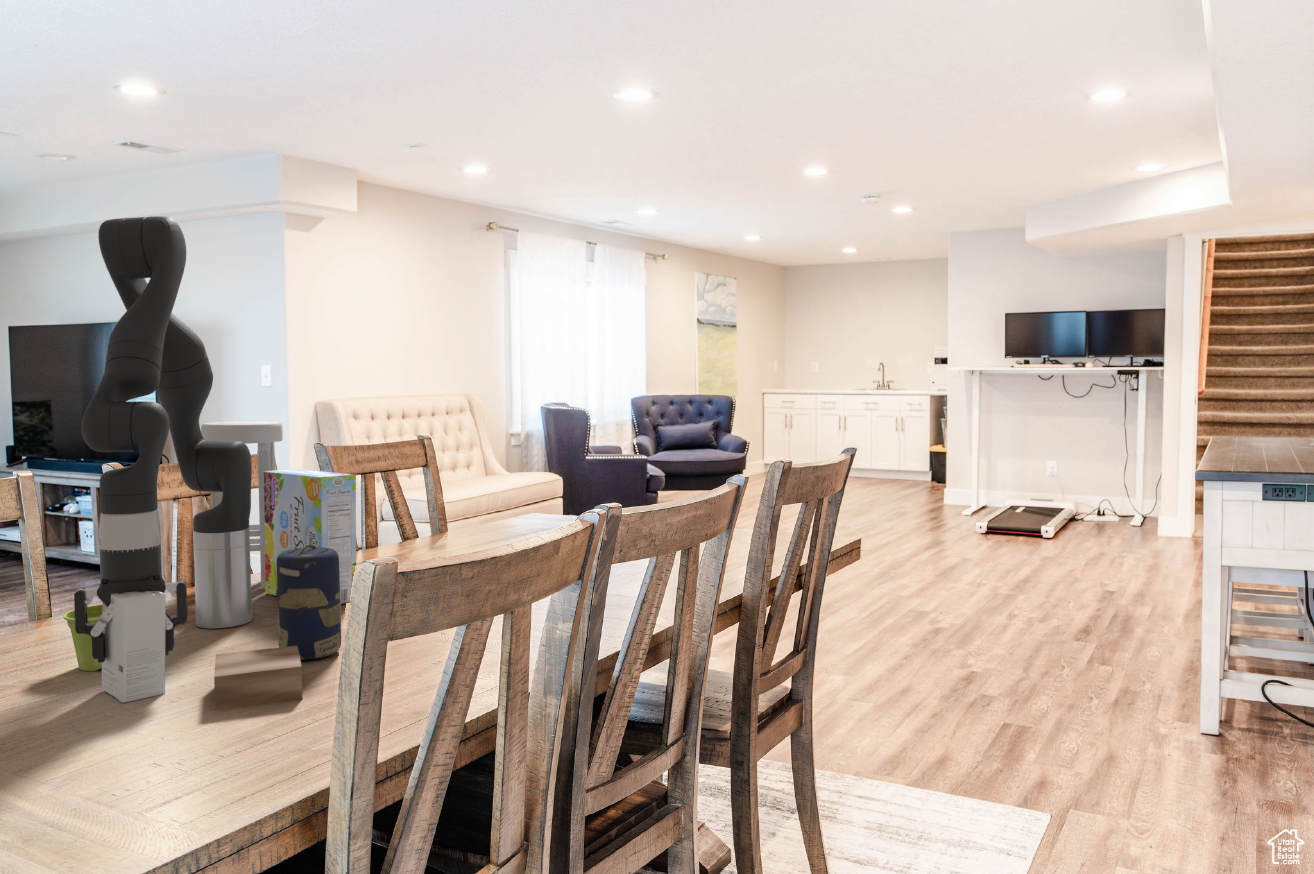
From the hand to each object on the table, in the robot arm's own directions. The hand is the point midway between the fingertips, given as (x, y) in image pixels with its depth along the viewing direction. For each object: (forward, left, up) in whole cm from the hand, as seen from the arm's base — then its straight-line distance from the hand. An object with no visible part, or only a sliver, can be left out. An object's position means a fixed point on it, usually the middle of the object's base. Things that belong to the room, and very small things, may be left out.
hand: (134, 657), depth 132 cm
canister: (-9, +24, -5) cm, 26 cm away
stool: (-68, +15, -5) cm, 70 cm away
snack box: (-50, +27, -5) cm, 57 cm away
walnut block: (+7, +16, -5) cm, 18 cm away
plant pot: (-16, -6, -5) cm, 18 cm away
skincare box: (0, 0, -5) cm, 5 cm away
